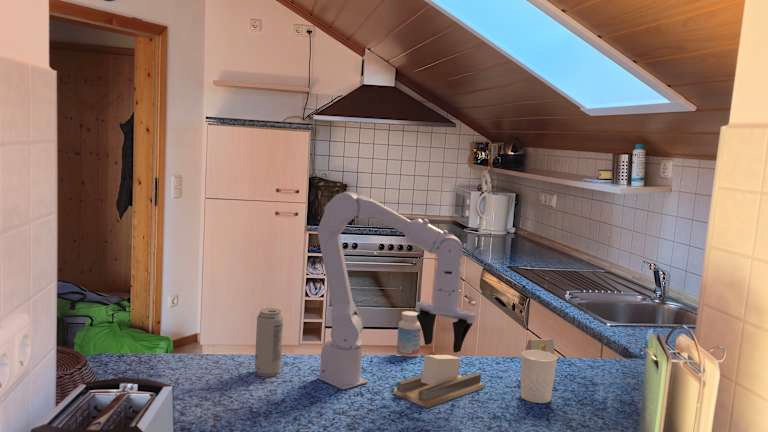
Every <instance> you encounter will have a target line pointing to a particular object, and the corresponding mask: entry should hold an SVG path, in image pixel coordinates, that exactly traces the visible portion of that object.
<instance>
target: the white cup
mask: <svg viewBox="0 0 768 432" xmlns="http://www.w3.org/2000/svg"><path fill="white" fill-rule="evenodd" d="M520 359H521V360H520V361H521V363H520V398H522V399H523V400H525V401H527V402H531V403H535V404H536V403H537V404H545V403H549V402H551V400H552V395H553V394H552V393H553V388H554V382H555V377H556V370H557V362H558V357H557V356H556V354H555V355H554V354H552V353H549V352H545V351H540V350H526V351H525V350H524V351H522V352H521V356H520Z"/></svg>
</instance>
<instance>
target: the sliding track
mask: <svg viewBox="0 0 768 432" xmlns="http://www.w3.org/2000/svg"><path fill="white" fill-rule="evenodd" d="M481 376H482V374H481V373H478V372H473V373H470V374H467V375H460V372H459V373H458V378H457V379H454V380H451V381H448V382H445V383H442V384H439V385H436V386H432V385H429V384H426V383H423V382H421V377H422V374H420V375H418V376H414V377H413V376H412V377H410V378H407V379H404V380H400V381H397V382H396V383H397V384H396V388H394V389H393V395H396V396H398V397H399V398H402V399H405V400H407V401H410V402H412V403H414V404H417V405H418V406H422V407H423V408H426V409H429V408H431V407H434V406H436V405H439V404H442V403H445V402H448V401H450V400H453V399H456V398H460V397H462V396H465V395H467V394H471V393H473V392H476V391H479V390H482V389H484V383H482V382H481V380H482V379H481Z"/></svg>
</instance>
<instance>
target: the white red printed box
mask: <svg viewBox="0 0 768 432" xmlns="http://www.w3.org/2000/svg"><path fill="white" fill-rule="evenodd" d="M554 344H555V343H554V339H553V338H540V339H539V338H538V339H528V341H527V343H526V346H525V350H524V351H526V350H540V351H545V352H549V353H552V354H554V355H556V353H555V346H554Z"/></svg>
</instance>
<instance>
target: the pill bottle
mask: <svg viewBox="0 0 768 432" xmlns="http://www.w3.org/2000/svg"><path fill="white" fill-rule="evenodd" d="M419 313H420V312H418V311H412V310H410V311H409V310H405V311H402V312H401V320H400V321H399V322H398V326H397V327H398V328H397V341H396V353H397V355H398V356H401V357H407V358H414V357H415V358H416V357H417V356H418V355H420V348H421V347H420V346H421V333H422V332H421V331H422V329H421V326H420V323H419V321H418V319H417V314H419Z"/></svg>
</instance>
